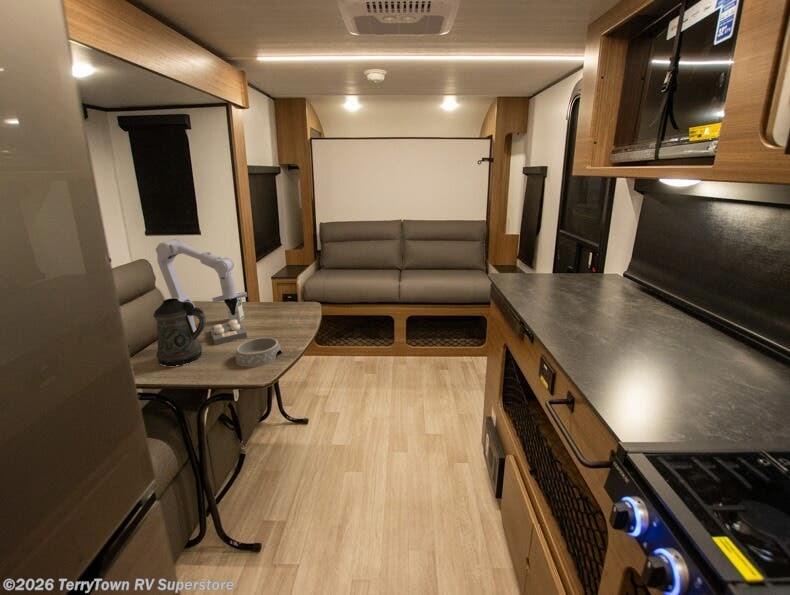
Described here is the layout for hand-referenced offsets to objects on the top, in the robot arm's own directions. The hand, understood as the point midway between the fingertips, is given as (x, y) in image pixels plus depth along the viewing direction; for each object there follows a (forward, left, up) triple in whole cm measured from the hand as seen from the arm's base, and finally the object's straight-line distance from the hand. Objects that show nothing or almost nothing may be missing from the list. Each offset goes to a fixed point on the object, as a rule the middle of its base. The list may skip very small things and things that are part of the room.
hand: (233, 314), depth 185 cm
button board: (-4, +2, -10) cm, 10 cm away
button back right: (0, +7, -8) cm, 11 cm away
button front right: (0, 0, -8) cm, 8 cm away
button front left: (-7, 0, -8) cm, 11 cm away
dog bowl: (+4, -31, -10) cm, 33 cm away
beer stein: (-23, -13, -10) cm, 28 cm away
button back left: (-7, +7, -9) cm, 13 cm away
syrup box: (+3, +21, -10) cm, 23 cm away
